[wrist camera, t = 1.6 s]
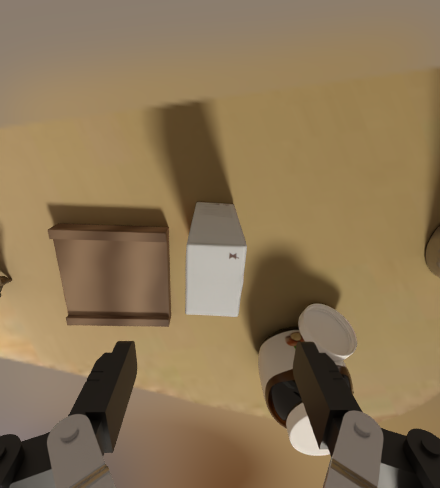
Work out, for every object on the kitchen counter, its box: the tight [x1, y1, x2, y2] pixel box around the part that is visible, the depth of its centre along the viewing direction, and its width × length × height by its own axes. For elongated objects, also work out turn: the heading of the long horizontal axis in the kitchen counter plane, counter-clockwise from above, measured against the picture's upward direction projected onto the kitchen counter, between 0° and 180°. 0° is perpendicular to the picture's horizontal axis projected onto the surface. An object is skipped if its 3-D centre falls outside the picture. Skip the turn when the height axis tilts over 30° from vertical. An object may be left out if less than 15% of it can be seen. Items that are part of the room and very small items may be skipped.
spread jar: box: [258, 303, 357, 456], centre depth 31 cm, size 12×11×12 cm
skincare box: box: [185, 202, 247, 317], centre depth 24 cm, size 6×4×12 cm
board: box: [48, 224, 171, 327], centre depth 31 cm, size 12×12×2 cm
